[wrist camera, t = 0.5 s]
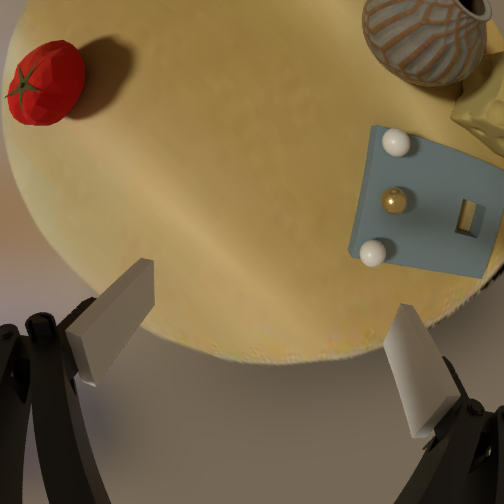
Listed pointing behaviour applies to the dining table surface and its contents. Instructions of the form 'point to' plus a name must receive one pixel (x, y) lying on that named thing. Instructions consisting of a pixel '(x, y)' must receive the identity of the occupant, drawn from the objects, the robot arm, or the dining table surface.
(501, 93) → the cheese
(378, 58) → the vase
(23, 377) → the robot arm
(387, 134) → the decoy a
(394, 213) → the ball
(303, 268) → the dining table surface
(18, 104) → the tomato
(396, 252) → the plate
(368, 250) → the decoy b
